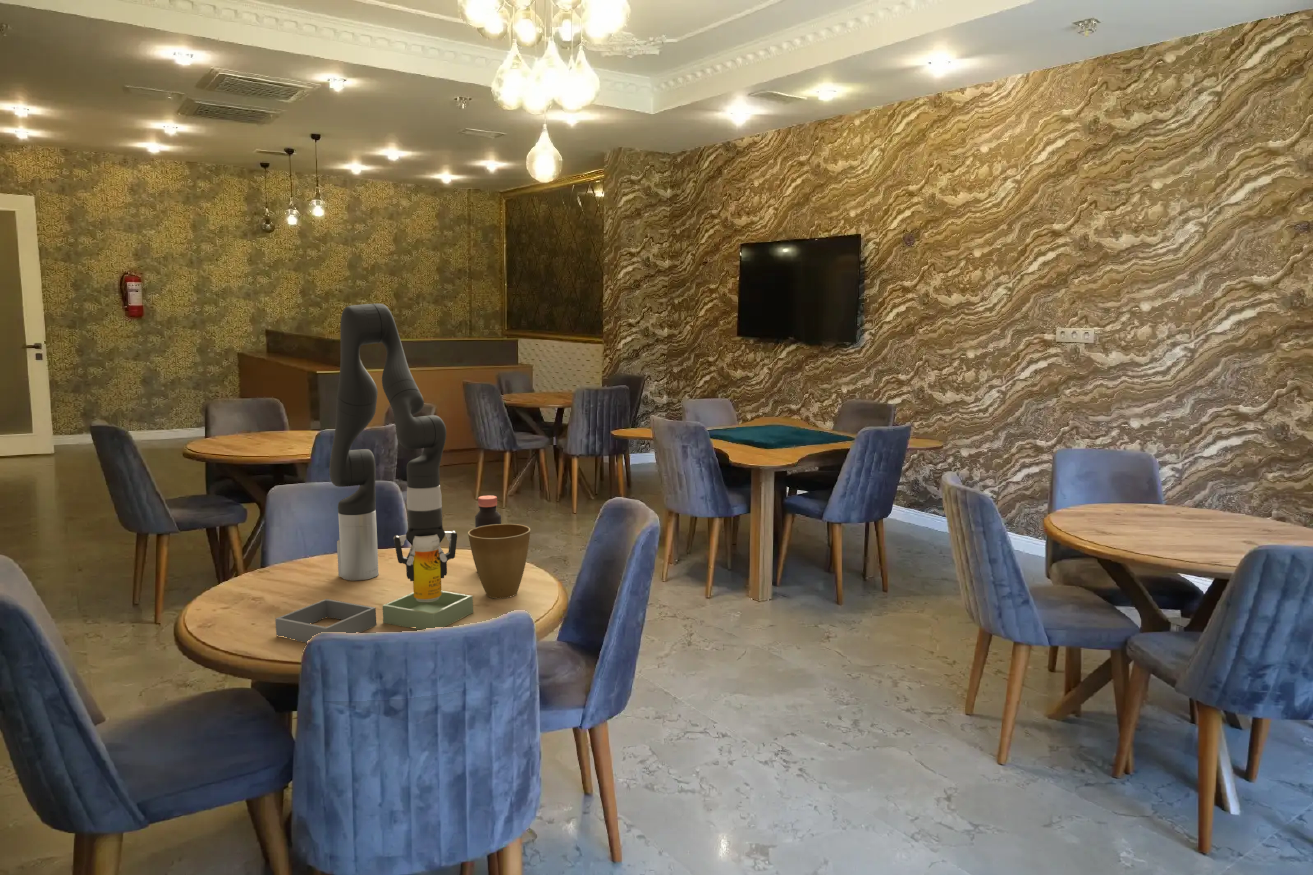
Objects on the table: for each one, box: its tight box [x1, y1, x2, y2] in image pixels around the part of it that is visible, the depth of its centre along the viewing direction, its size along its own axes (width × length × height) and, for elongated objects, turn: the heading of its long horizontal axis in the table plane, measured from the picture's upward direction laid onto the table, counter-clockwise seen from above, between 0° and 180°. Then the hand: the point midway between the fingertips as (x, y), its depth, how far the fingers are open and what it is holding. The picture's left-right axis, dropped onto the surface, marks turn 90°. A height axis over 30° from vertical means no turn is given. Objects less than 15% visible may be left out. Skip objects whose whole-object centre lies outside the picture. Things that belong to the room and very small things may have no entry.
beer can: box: [411, 534, 443, 602], centre depth 200 cm, size 6×6×15 cm
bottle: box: [474, 494, 502, 528], centre depth 236 cm, size 7×7×20 cm
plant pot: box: [467, 523, 531, 599], centre depth 217 cm, size 15×15×16 cm
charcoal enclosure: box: [275, 598, 377, 644], centre depth 193 cm, size 14×14×4 cm
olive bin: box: [382, 590, 474, 630], centre depth 201 cm, size 14×14×4 cm
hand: (427, 578), depth 200 cm, fingers closed on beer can, 6 cm apart
